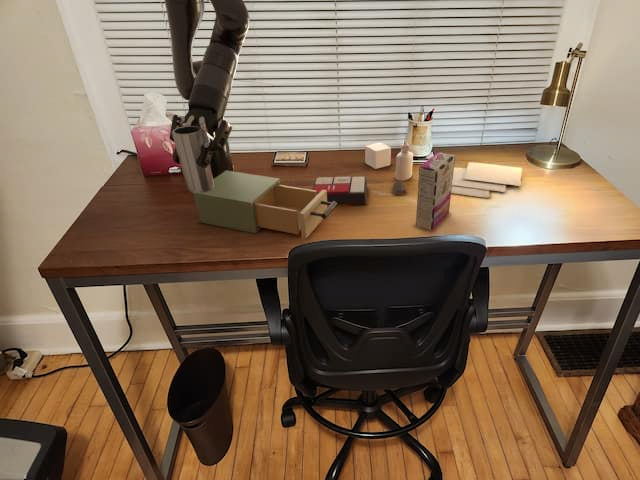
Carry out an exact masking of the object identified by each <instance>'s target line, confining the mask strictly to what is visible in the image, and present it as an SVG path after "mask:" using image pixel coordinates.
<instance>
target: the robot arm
mask: <svg viewBox="0 0 640 480" xmlns="http://www.w3.org/2000/svg"><path fill="white" fill-rule="evenodd" d="M206 1H207V2H208V3H210V4H211V5H212V7H213V10H214V13H215V19H214V24H213V28H212V32H211V36H210V39H209V43H208V45H207V47H206V50H205V51H204V54H203V58H202V60H195V61H193V47H194V42H195V38H196V35H197V33H198V30H199V28H200V27H201V23H202V21H203V17H204V13H205V0H164V4H165V9H166V15H167V21H168V28H169V35H170V44H171V55H172V65H173V66H172V69H173V76H174V77H173V78H174V82H175V87H176V89H177V91H178V93H179V95H180V96H181V97H182V99H184V100H186V101H188V103H187V106H188V111H187V112H186V114H185V115H184V116H179V115H178V114H174V115H173V116H172V119H171V120H172V121H171V125H170V132H169V137H168V138H169V140H170V141H171V142H173V143H174V144H175V142H174V138H173V135H172V131H173V130H174V129H176V128H179V127H183V126H199V127H201V128H202V132H203V139H204V147H205V148H202V152H201V155H200V158H199V161H198V165H199V166H201V167H202V168H207V166H208V165H209V164H210V167H211V172H212V176H213V179H214V178H216V177H217V176H219V175H220V174H222V173H223V172H225V171H226V170H227V171H233V172H235V171H234V170H235V166H234V163H233V159H232V155H231V154H232V153H231V149H230V143H229V139H228V138H229V137H230V134H231V133H232V130H233V126H232V125H231V124H230V123H229V122H228V121H227V120H225V113H226V110H227V106H228V103H229V100H230V96H231V94H232V93H231V92H232V89H233V82H234V78H235V75H236V72H237V68H238V62H239V56H240V54H241V51H242V48H243V45H244V42H245V39H246V37H247V35H248V31H249V28H250V23H251V22H250V21H251V20H250V15H249V12H248V8H247V5H246V4H245V2H244V0H206ZM193 133H194V132H193ZM120 150H121V151H120V152H118V151H116V155H118V156H119V155H120V154H121V153H124V154H125V153H126V154H128V155H132V156H135V157H137V158H139V157H138V156H137V154H138V153H137V152H134V151H131V150H128V149H120ZM172 160H173V162H174V163H175V164H177V165H180V161H179V157H178V153H177V150H176V146H175V147H174V150H173V154H172Z"/></svg>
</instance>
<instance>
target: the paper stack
mask: <svg viewBox="0 0 640 480" xmlns="http://www.w3.org/2000/svg"><path fill="white" fill-rule="evenodd" d="M522 170H523V168H522V167H516V166H509V165H508V166H507V165H501V164H490V163H482V162H473V161H468V164H467V167H458V166H454V170H453V180H452V189H451V194H456V195H462V196H463V195H464V196H472V197H476V198H477V197H479V198H485V199H489V197H490V192H491V191H492V192H493V191H495V192H503V193H506V188H507V185H509V186H518V187H521V183H522V173H523V172H522Z"/></svg>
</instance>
